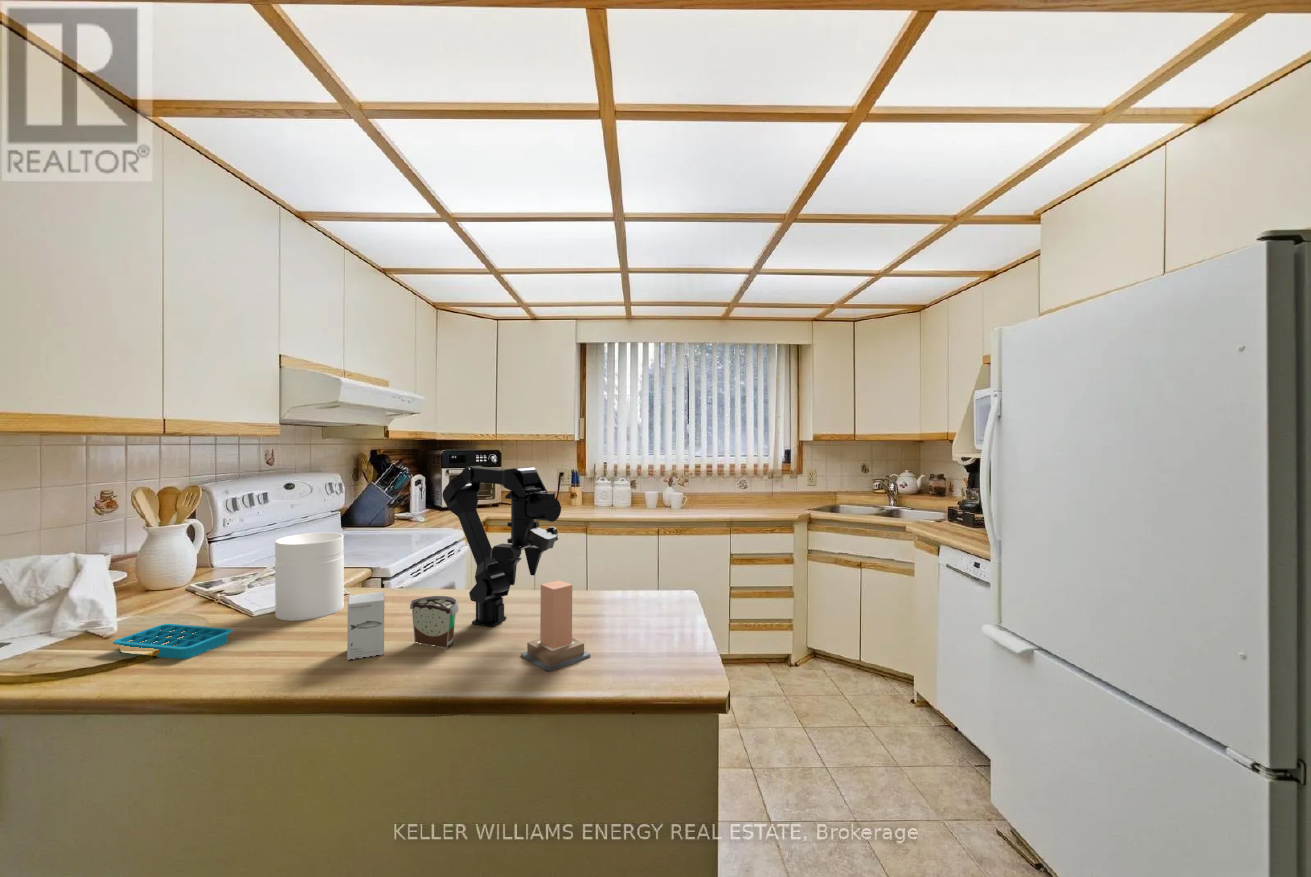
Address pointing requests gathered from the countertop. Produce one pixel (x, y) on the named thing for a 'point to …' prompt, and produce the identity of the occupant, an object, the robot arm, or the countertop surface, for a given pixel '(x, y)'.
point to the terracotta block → (556, 614)
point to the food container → (434, 620)
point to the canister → (309, 576)
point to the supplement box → (365, 625)
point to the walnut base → (554, 654)
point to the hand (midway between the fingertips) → (522, 580)
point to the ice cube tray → (177, 640)
